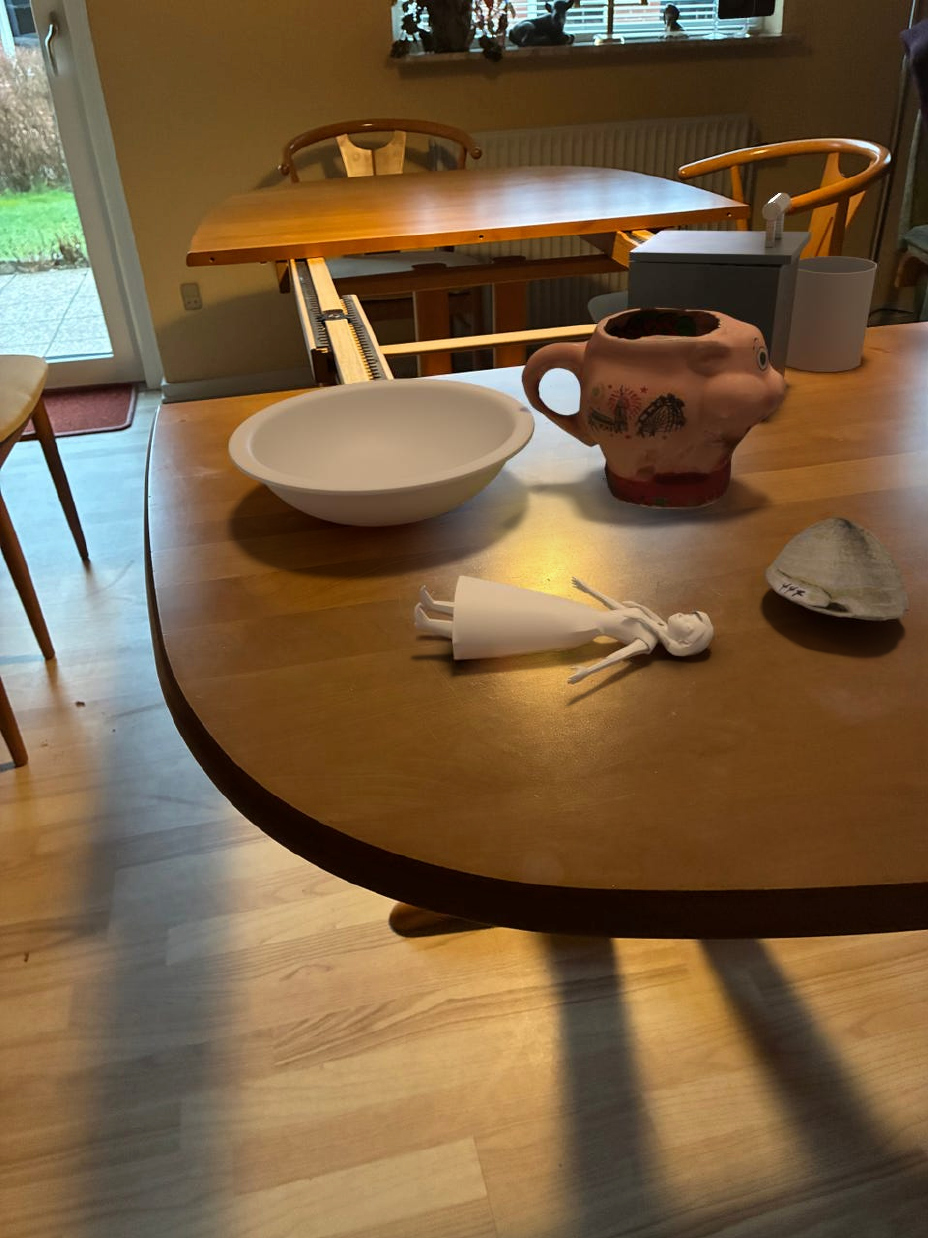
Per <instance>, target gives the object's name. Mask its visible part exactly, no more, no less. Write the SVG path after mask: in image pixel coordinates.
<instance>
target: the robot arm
mask: <svg viewBox="0 0 928 1238" xmlns="http://www.w3.org/2000/svg"><path fill="white" fill-rule="evenodd" d="M776 1H777V0H718V2H717V5H718V6H717V18H718V20H721V21H722V20H724V21H725V20H738V19H741V20H742V19H751V18H762V17H772V16H774V15H775V13H776V4H777V3H776Z"/></svg>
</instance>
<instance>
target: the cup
mask: <svg viewBox="0 0 928 1238" xmlns="http://www.w3.org/2000/svg"><path fill="white" fill-rule="evenodd" d="M877 267H878V263H876V262H874V261H872V260H870V259H866V258H860V257H854V256H853V257H852V256H840V255H839V256H837V255H835V256H834V255H831V256H829V255H828V256H827V255H826V256H813V257H804V258H801V259H799V265H798V273H797V281H796V289H795V296H794V304H793V312H792V320H791V328H790V336H789V344H788V352H787V360H786V367H790V368H793V369H796V370H799V371H806V372H807V371H808V372H814V373H815V372H816V373H837V372H843V371H850V370H853V369H855V368H857V367H859V366H861V361H862V356H863V350H864V344H865V339H866V338H865V337H866V334H867V333H866V331H867V327H868V320H869V314H870V307H871V303H872V296H873V291H874V285H875V279H876V273H877Z"/></svg>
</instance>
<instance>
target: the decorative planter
mask: <svg viewBox="0 0 928 1238" xmlns="http://www.w3.org/2000/svg"><path fill="white" fill-rule="evenodd" d="M591 335H592V336H591V337H590V339H588V340H586V341H579V342H569V341H567V342H554V343H551V344H548V345H545V346H543V347H541V348H539V349H538V350H536V351H535V352H533V354H531V355H530V356H529V358H528V359H527V362H526V363H525V365H524V367H523V370H522V373H521V377H520V378H521V383H522V388H523V392H524V395H525V396H526V399H527V400H528V403H529V404H530V406H531V408H533V409H534V410H535V411H537V412H539V413H540V414H542V415H544V416H545V418H547V419H548V420H549V421H550V422H552V423H553V424H554V425H556V426H557V427H559V428H560V429H561V430H562V431H563V432H565V433H567V434H568V435H570V436H571V437H573V438H575V439H576V440H577V441H579V442H580V443H582V444H583V445H585V446H587V447H589V448H593V447H596V446H597V445H599V448H600V450H601V453H602V455H603V458H604V459H605V462H604V468H603V471H604V476H605V480H606V484H607V489H608V490H609V492H610V495H611V496H612V497H613V498H614V499H616V500H618V501H620V502H622V503H624V504H627V505H633V506H637V507H644V508H647V509H657V510H658V509H659V510H667V509H669V510H670V509H671V510H673V509H675V510H687V509H697V508H703V507H706V506H709V505H712V504H714V503H716V502H717V501H719V500H721V499H722V498H723V497H724V496H725V495H726V494H727V492H728V489H729V486H730V482H731V476H732V459H733V454H734V452H735V450H736V448H737V447H738V446H739V445H740V443H741V442H742V441H743V440H744V438H745V437H746V436H747V434H748V433H749V432H750V430H752V428H754V427H755V426H756V425H758V424H759V423H760V422H762V421H764V420H765V419H767V417H769V416H770V415H771V414H773V413H774V412H775V411H776V410H777V409H779V408H780V407H781V406H782V405H783V404H784V401H785V399H786V394H787V381H786V379H785V377H784V378H783V376H782V375H781V374H779V373H778V372H776V371H775V370H774V369H773V368H772V366H771V365H770V363H769V359H768V350H767V348H766V346H765V341H764V339H763V336H762V334H761V332H760V330H759V329H758V328H757V327H755V326H753V325H751V324H748V323H744V322H741V321H738V320H736V319H734V318H731V317H729V316H727V315H725V314H722V313H719V312H714V311H703V310H682V309H670V308H641V309H633V310H628V311H627V310H625V311H620V312H617V313H615V314H612V315H610V316H607V317H605V318H602V319H601V320H600V321H599V322H598V323H597V324H596V325H595V327H594V329H593V332H592V334H591ZM555 369H561V370H565V371H569V372H570V373H571V374H573V375H574V377H575V378H576V380H577V382H578V384H579V389H580V390H579V406H578V411H576V412H574V413H571V414H562V413H559V412H556V411H555V410H553V409H551V408H550V407H549V406H547V404H546V403H545V401H544V400H543V399H542V398H541V397H540V396H541V395H540V394H541V393H540V384H541V382H542V380H543V378H544V376H545V375H546V374H547V373H549V371H551V370H555Z"/></svg>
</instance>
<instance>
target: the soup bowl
mask: <svg viewBox="0 0 928 1238" xmlns="http://www.w3.org/2000/svg"><path fill="white" fill-rule="evenodd" d="M535 426H536V423H535V419H534V415H533V413H532V412H531V410H530V408H528V406H527V405H526V404H524V403H523V401H521V400H519V399H517V398H516V397H514V396H513V395H511V394H508V393H506V392H504V391H501V390H498V389H495V388H492V387H488V386H485V385H480V384H475V383H471V382H464V381H457V380H450V379H449V380H448V379H437V378H391V379H389V378H388V379H377V380H367V381H358V382H357V381H356V382H351V383H345V384H340V385H333V386H329V387H324V388H320V389H319V388H318V389H316V390H312V391H308V392H304V393H301V394H297V395H294V396H292V397H289V398H286V399H284V400H280V401H279V402H276V403H274V404H271V405H270V406H269V405H268V406H267V407H265V408H263V409H261V410H260V411H257V412H256V413H254V414H252V415H251V416H249V417H248V418H247V419H245V420H243V422H241V423H240V425H238V426H237V427H236V429H235V430H234V431H233V432H232V435H231V436H230V437H229V442H228V455H229V458H230V460H231V462H232V463H233V465H234V466H235V467H236V468H237V470H239V471H240V472H241V473H243V474H244V475H245V476H246V477H249V478H251V479H252V480H254V481H257V482H259V483H261V484H264V485H265V486H267V488H268V489H269V490H270V491H271V492H272V493H273V494H275V495H276V496H277V497H278V498H280V499H281V500H282V501H284V502H285V503H287V504H288V505H290V506H292V508H295V509H297V510H298V511H301V512H303V513H305V514H306V515H309V516H311V517H314V518H317V519H320V520H323V521H327V522H331V523H335V524H340V525H347V526H356V527H390V526H399V525H405V524H411V523H416V522H420V521H425V520H428V519H432V518H435V517H438V516H441V515H443V514H446V513H448V512H450V511H453V510H455V509H456V508H458V507H460V506H463V505H464V504H466V503H467V502H469V501H470V500H471V499H473V498H474V497H476V496H477V495H478V494H480V493H481V492H482V491H483V490H485V488H487V487H488V486H489V485H490V484H491V483H492V482H493V480H495V478H496V477H497V476H498V475H499V474H500V472H501V471H502V469H504V467H505V465H506V464H507V462H508V461H509V460H511V459H513V458H514V457H515V456H517V455H518V454H519V453H521V452H522V451H523V450H524V449H525V448H526V446H528V444H529V443H530V441H532V440H531V439H532V438H533V436H534V432H535Z"/></svg>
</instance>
